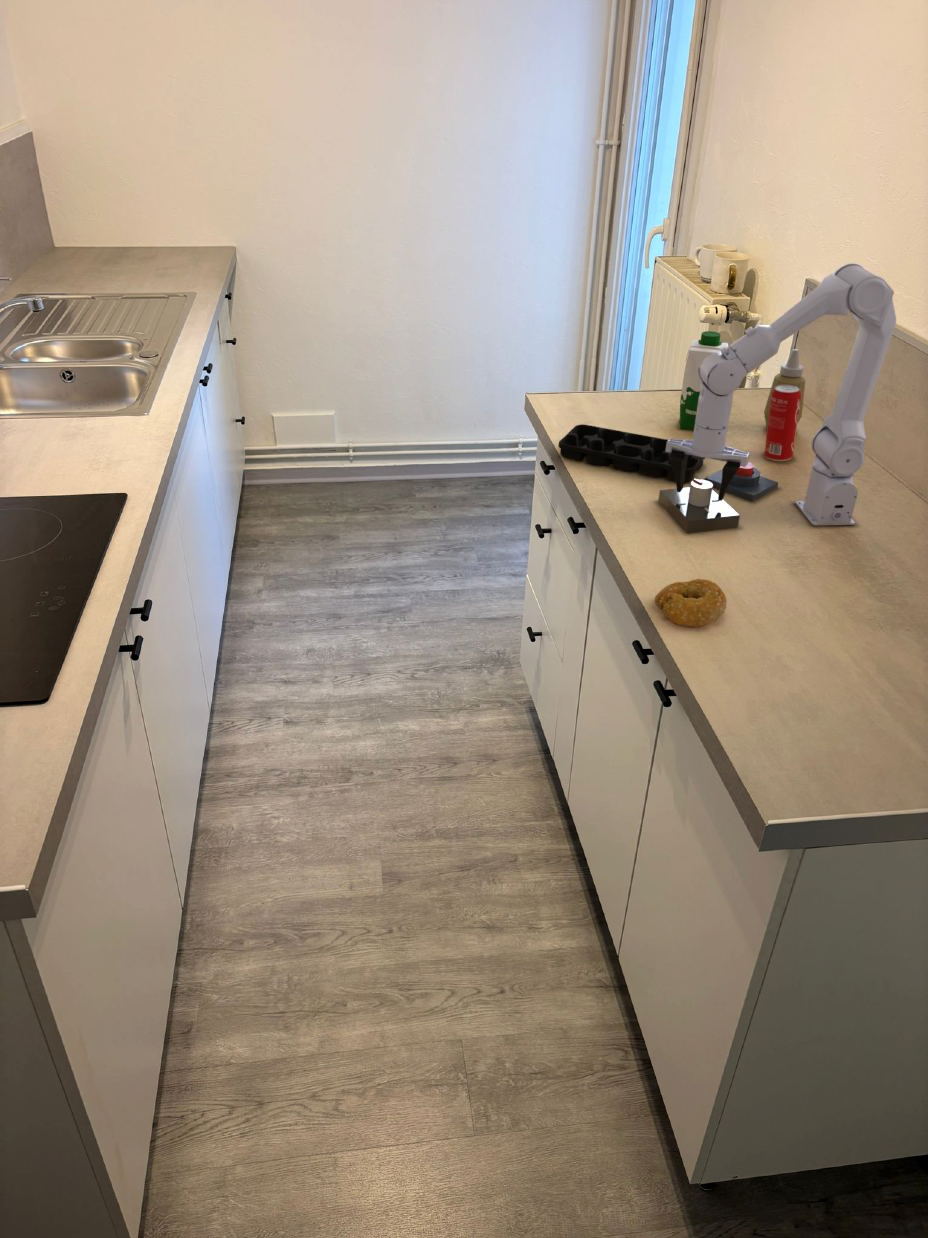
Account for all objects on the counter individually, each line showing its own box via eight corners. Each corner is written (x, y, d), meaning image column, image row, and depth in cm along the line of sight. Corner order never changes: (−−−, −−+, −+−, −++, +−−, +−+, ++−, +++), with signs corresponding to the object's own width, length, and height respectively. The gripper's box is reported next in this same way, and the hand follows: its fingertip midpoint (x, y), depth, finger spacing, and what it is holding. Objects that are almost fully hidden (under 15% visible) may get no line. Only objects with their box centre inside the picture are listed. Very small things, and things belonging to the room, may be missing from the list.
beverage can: (793, 463, 199) (808, 393, 191) (760, 461, 200) (774, 391, 192) (790, 452, 204) (805, 384, 196) (759, 450, 205) (772, 381, 197)
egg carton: (703, 487, 189) (705, 469, 187) (552, 470, 195) (553, 452, 193) (706, 453, 203) (709, 436, 201) (565, 438, 209) (566, 421, 207)
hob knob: (714, 503, 177) (717, 484, 175) (699, 508, 175) (702, 489, 173) (698, 495, 180) (702, 476, 178) (683, 500, 178) (686, 481, 176)
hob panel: (737, 528, 175) (740, 514, 173) (686, 533, 173) (689, 519, 171) (706, 497, 185) (708, 484, 184) (657, 502, 183) (659, 489, 182)
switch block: (777, 488, 189) (780, 473, 187) (752, 502, 184) (755, 486, 182) (729, 471, 196) (731, 456, 194) (703, 483, 190) (706, 469, 189)
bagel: (672, 588, 157) (676, 562, 154) (735, 611, 151) (740, 585, 148) (641, 613, 150) (644, 586, 147) (705, 638, 144) (710, 611, 142)
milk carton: (718, 420, 219) (732, 332, 208) (715, 435, 212) (729, 344, 201) (679, 416, 221) (691, 328, 210) (674, 430, 214) (687, 340, 203)
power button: (755, 473, 188) (757, 465, 187) (745, 478, 186) (747, 470, 185) (739, 467, 190) (741, 459, 189) (729, 472, 188) (731, 464, 187)
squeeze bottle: (753, 425, 217) (768, 346, 207) (781, 420, 220) (797, 342, 210) (777, 438, 211) (793, 357, 201) (806, 433, 214) (823, 352, 204)
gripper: (757, 423, 170) (744, 493, 177) (677, 409, 175) (667, 478, 182) (749, 437, 164) (735, 509, 172) (666, 422, 170) (657, 492, 177)
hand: (700, 494), depth 177 cm, fingers open, 7 cm apart
